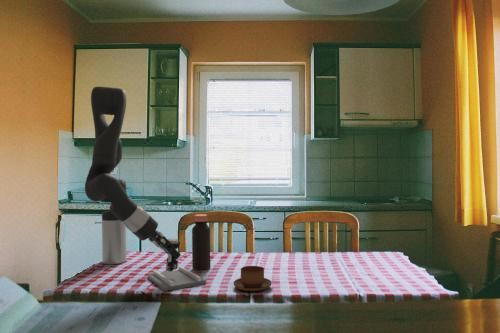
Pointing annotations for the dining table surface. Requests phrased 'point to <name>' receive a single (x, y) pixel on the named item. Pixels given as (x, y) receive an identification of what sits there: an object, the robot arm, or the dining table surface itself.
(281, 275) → the dining table surface
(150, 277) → the rail plate
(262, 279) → the cup and saucer
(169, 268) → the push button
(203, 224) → the bottle
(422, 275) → the dining table surface
